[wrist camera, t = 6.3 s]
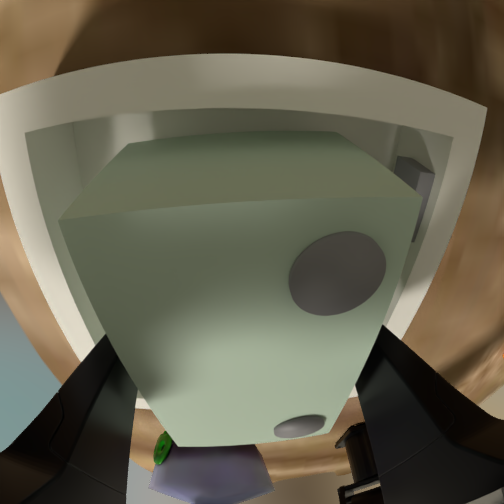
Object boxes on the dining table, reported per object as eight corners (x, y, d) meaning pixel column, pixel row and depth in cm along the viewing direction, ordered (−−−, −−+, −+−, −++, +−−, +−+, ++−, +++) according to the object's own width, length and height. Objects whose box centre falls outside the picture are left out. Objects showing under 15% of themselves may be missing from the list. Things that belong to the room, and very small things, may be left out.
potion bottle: (149, 377, 18) (140, 556, 8) (279, 385, 19) (306, 552, 9) (156, 424, 22) (154, 549, 13) (253, 430, 24) (267, 549, 14)
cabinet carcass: (348, 344, 17) (365, 394, 14) (121, 352, 16) (110, 405, 13) (422, 86, 9) (487, 107, 6) (51, 80, 7) (-12, 99, 4)
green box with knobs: (306, 349, 14) (329, 436, 10) (181, 359, 14) (178, 450, 10) (336, 131, 8) (427, 201, 4) (128, 143, 8) (53, 224, 4)
